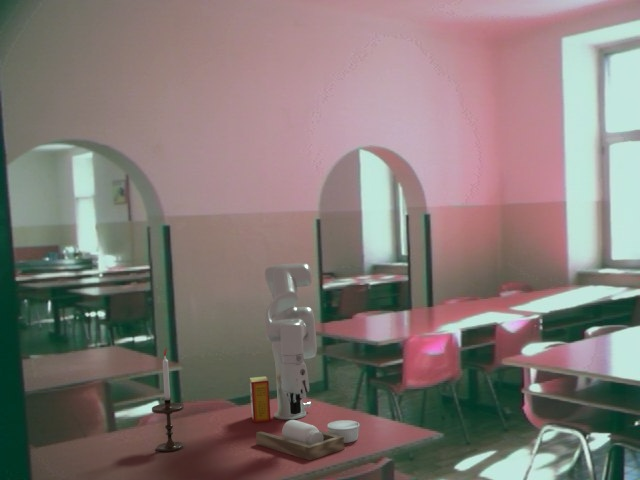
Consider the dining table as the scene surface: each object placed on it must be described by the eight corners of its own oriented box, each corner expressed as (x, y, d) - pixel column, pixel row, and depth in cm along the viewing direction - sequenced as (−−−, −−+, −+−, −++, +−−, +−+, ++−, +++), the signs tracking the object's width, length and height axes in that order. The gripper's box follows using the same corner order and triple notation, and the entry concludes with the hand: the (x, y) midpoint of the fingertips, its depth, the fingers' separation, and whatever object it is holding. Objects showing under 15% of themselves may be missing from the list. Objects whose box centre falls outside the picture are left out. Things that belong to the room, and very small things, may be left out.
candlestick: (191, 443, 250) (185, 344, 250) (177, 453, 239) (171, 349, 239) (163, 443, 253) (157, 344, 252) (148, 452, 242) (142, 350, 242)
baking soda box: (251, 417, 283) (249, 376, 282) (268, 415, 284) (265, 375, 284) (253, 423, 273) (251, 381, 273) (270, 421, 274) (268, 379, 274)
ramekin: (357, 444, 238) (356, 428, 238) (325, 444, 241) (324, 428, 240) (362, 435, 249) (361, 420, 249) (331, 434, 251) (330, 420, 251)
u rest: (290, 434, 255) (289, 423, 255) (344, 448, 234) (343, 436, 234) (256, 444, 245) (256, 432, 245) (310, 460, 224) (309, 447, 224)
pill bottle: (303, 433, 248) (330, 442, 236) (286, 447, 243) (313, 457, 232) (294, 414, 246) (321, 422, 234) (277, 428, 241) (303, 437, 229)
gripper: (315, 359, 237) (318, 414, 237) (287, 355, 248) (290, 407, 248) (298, 363, 232) (301, 419, 232) (270, 358, 243) (273, 412, 243)
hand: (295, 413), depth 240 cm, fingers closed
